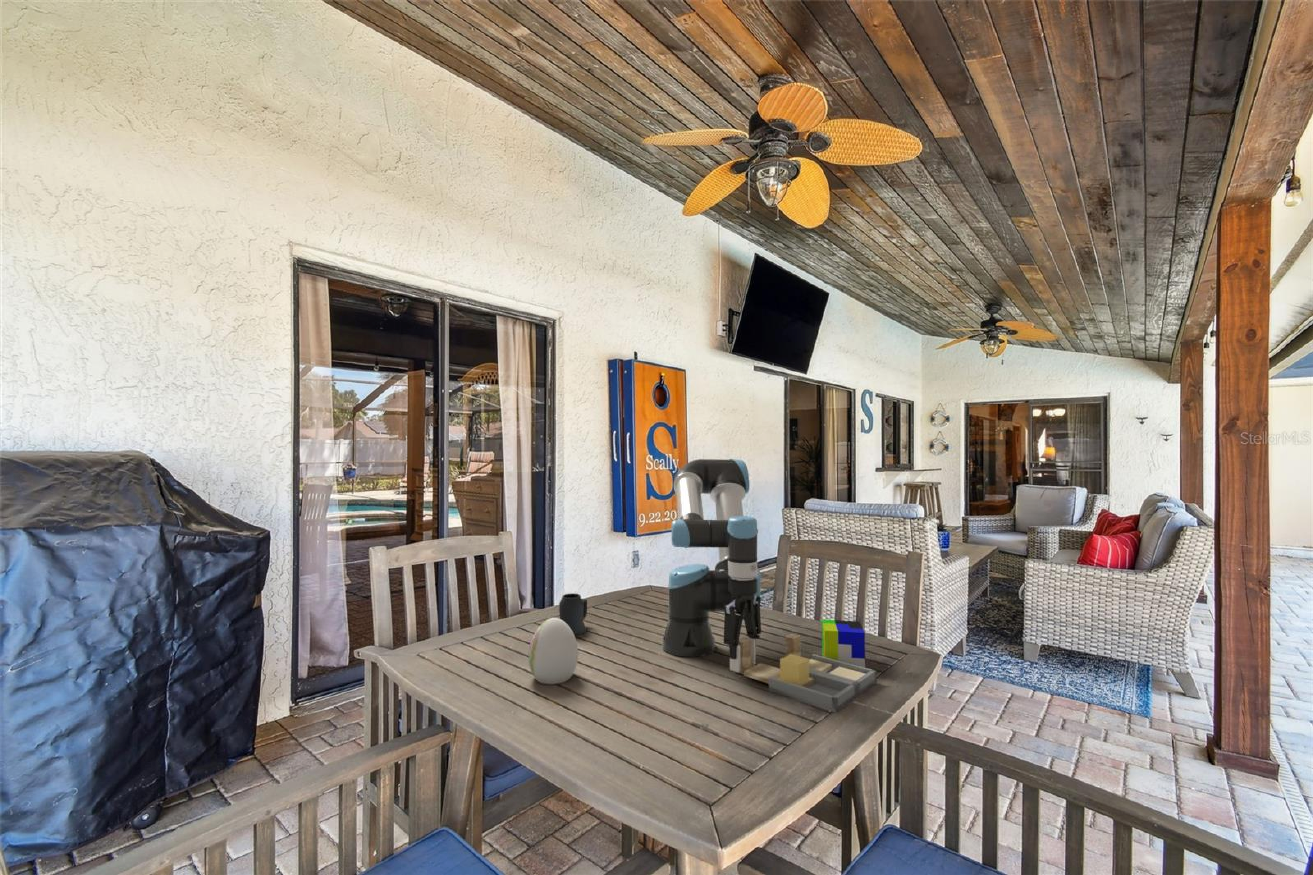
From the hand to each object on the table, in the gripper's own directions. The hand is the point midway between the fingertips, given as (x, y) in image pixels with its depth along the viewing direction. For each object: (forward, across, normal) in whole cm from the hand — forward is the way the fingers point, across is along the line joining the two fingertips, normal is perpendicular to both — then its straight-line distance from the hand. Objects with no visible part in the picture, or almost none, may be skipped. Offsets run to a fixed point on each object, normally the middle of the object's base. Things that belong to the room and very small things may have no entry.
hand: (742, 666), depth 152 cm
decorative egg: (+2, -35, +33) cm, 48 cm away
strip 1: (+1, 0, -8) cm, 8 cm away
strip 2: (+1, +11, -12) cm, 17 cm away
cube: (-1, 0, -15) cm, 15 cm away
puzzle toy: (+2, +24, -16) cm, 29 cm away
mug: (+2, -7, +59) cm, 59 cm away
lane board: (+1, +6, -20) cm, 20 cm away
